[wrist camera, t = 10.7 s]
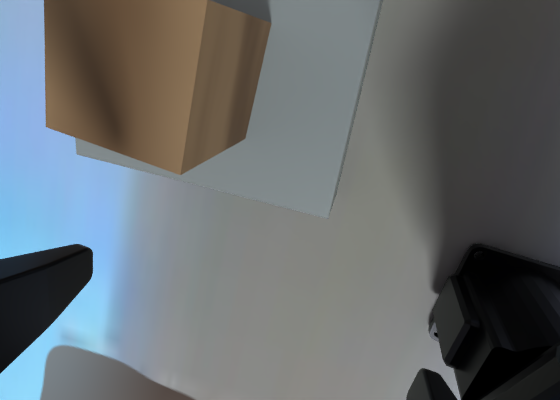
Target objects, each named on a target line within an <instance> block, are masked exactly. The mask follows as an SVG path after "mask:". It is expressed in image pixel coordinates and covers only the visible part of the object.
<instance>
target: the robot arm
mask: <svg viewBox="0 0 560 400" xmlns="http://www.w3.org/2000/svg"><path fill="white" fill-rule="evenodd" d="M478 251H482V252H483V254H482V255H481V256H475V255H474V254H475V253H476V252H478ZM92 274H93V252H92V250H91V249H90V248H89V247H86V246H83V245H80V244H73V245H68V246H63V247H59V248H54V249H49V250H44V251H39V252H34V253H29V254H24V255H19V256H14V257H9V258H5V259H0V373H1V372H2V371H3V370H4V369H6V368H7V367H8V366H9V365H10V364H11V363H12V362H13V361H14V360H15V359H16V358H17V357H18V356H19V355H20V354H21V353H22V352H23V351H24V350H25V349H26V348H28V347H29V346H30V345H31V344H32V343H33V342H34V341H35V340H36V339H37V338H38V337H39V336H40V335H41V334H42V333H43V332H44V331H45V330H46V329H47V328H48V327H49V326H50V325H51V324H52V323H53V322H54V321H55V320H56V319H57V318H58V316H59V315H60V314H61V313H62V312H63V311H64V310H65V308H66V307H67V306H68V305H69V304H70V303H71V302H72V300H73V299H74V298H75V297H76V296H77V295H78V293H79V292H80V291H81V290H82V289H83V288H84V287H85V285H86V284H87V283H88V282H89V281H90V279H91V277H92ZM433 315H434V318H433V320H432V322H431V324H430V326H429V334H430V337H431V338H432V339H434V340H436V341H438V342H439V343H440V348H441V353H442V357H443V360H444V362H445V364H446V366H449V367H451V368H454V372H455V377H456V381H457V385H458V389H459V393H460V397H461V400H560V267H557V266H553V265H550V264H547V263H543V262H540V261H537V260H533V259H530V258H527V257H523V256H520V255H517V254H513V253H510V252H507V251H503V250H500V249H497V248H493V247H490V246H487V245H483V244H473V245H472V246H470V247H469V249H468V250H467V252H466V254H465V256H464V258H463V260H462V262H461V264H460V266H459V268H458V270H457V272H456V274H453V275H451V276H449V278H448V280H447V282H446V284H445V286H444V288H443V290H442V292H441V294H440V296H439V298H438V300H437V302H436V304H435V306H434V308H433ZM435 331H437V333H436V332H435ZM406 400H457V398H456V397H455V395H454V394H453V393H452V391H451V390H450V388H449V387H448V385H447V384H446V382H445V381H444V379H443V378H442V377H441V375H440V374H438V373H436V372H433V371H431V370H428V369H425V368H422V369H420V370H419V372H418V373H417V375H416V377H415V379H414V381H413V383H412V385H411V387H410V389H409V391H408V394H407V399H406Z"/></svg>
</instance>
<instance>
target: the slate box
mask: <svg viewBox="0 0 560 400" xmlns="http://www.w3.org/2000/svg"><path fill="white" fill-rule="evenodd" d="M211 1H213V2H216V3H219V4H221V5H224V6H227V7H229V8H232V9H235V10H238V11H240V12H243V13H246V14H248V15H251V16H254V17H256V18H259V19H262V20H265V21H267V22H270V23H271V28H270V32H269V37H268V41H267V46H266V50H265V54H264V59H263V63H262V68H261V72H260V77H259V81H258V85H257V90H256V94H255V99H254V103H253V108H252V112H251V116H250V121H249V125H248V130H247V134H246V139H244V140H243V141H241V142H239V143H237V144H235V145H234V146H232V147H230V148H228V149H226V150H225V151H223V152H221V153H219V154H218V155H216V156H214V157H212V158H210V159H209V160H207V161H205V162H203V163H201V164H200V165H198V166H196V167H194V168H193V169H191V170H189V171H187V172H185V173H184V174H182V175H178V174H175V173H173V172H170V171H167V170H164V169H161V168H159V167H156V166H153V165H150V164H148V163H145V162H142V161H139V160H136V159H134V158H131V157H128V156H125V155H123V154H120V153H117V152H114V151H111V150H109V149H106V148H103V147H100V146H98V145H95V144H92V143H89V142H86V141H84V140H81V139H78V138H76V152H77V155H81V156H85V157H89V158H93V159H97V160H101V161H105V162H109V163H112V164H116V165H120V166H124V167H128V168H132V169H136V170H140V171H144V172H147V173H151V174H155V175H159V176H163V177H167V178H171V179H175V180H179V181H182V182H186V183H190V184H194V185H198V186H202V187H206V188H210V189H214V190H217V191H221V192H225V193H229V194H233V195H237V196H241V197H245V198H249V199H252V200H256V201H260V202H264V203H268V204H272V205H276V206H280V207H284V208H287V209H291V210H295V211H299V212H303V213H307V214H311V215H315V216H318V217H322V218H326V219H328V217H329V215H330V212H331V209H332V206H333V203H334V200H335V197H336V193H337V189H338V185H339V181H340V177H341V173H342V168H343V164H344V160H345V156H346V152H347V148H348V143H349V139H350V135H351V131H352V127H353V123H354V119H355V114H356V110H357V106H358V102H359V98H360V94H361V89H362V85H363V81H364V77H365V73H366V69H367V65H368V60H369V56H370V52H371V48H372V44H373V40H374V35H375V31H376V27H377V23H378V19H379V15H380V10H381V6H382V2H383V0H211Z"/></svg>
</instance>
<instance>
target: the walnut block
mask: <svg viewBox="0 0 560 400" xmlns="http://www.w3.org/2000/svg"><path fill="white" fill-rule="evenodd" d="M44 24H45V96H46V127H48V128H50V129H53V130H56V131H59V132H61V133H64V134H67V135H70V136H73V137H75V138H78V139H81V140H84V141H86V142H89V143H92V144H95V145H98V146H100V147H103V148H106V149H109V150H111V151H114V152H117V153H120V154H123V155H125V156H128V157H131V158H134V159H136V160H139V161H142V162H145V163H148V164H150V165H153V166H156V167H159V168H161V169H164V170H167V171H170V172H173V173H175V174H178V175H182V174H184V173H185V172H187V171H189V170H191V169H193V168H194V167H196V166H198V165H200V164H201V163H203V162H205V161H207V160H209V159H210V158H212V157H214V156H216V155H218V154H219V153H221V152H223V151H225V150H226V149H228V148H230V147H232V146H234V145H235V144H237V143H239V142H241V141H243V140H244V139H246V134H247V130H248V125H249V121H250V116H251V112H252V108H253V103H254V99H255V94H256V90H257V85H258V81H259V77H260V72H261V68H262V63H263V59H264V54H265V50H266V46H267V41H268V37H269V32H270V28H271V23H270V22H267V21H265V20H262V19H259V18H256V17H254V16H251V15H248V14H246V13H243V12H240V11H238V10H235V9H232V8H229V7H227V6H224V5H221V4H219V3H216V2H213V1H211V0H44Z"/></svg>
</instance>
